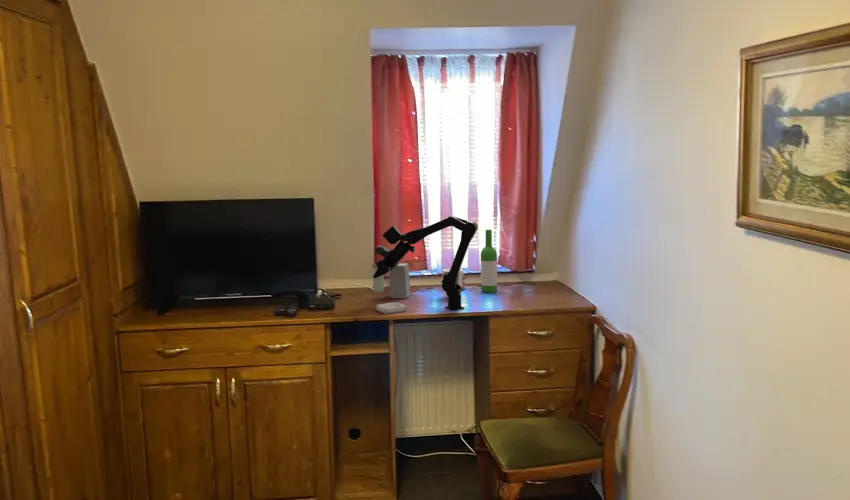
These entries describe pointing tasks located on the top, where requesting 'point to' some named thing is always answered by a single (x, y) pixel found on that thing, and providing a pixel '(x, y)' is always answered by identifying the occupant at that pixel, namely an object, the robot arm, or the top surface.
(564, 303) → the top surface
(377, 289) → the peg
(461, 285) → the foam cup
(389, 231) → the robot arm
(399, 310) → the tray
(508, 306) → the top surface
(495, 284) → the wine bottle
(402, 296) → the skincare box
